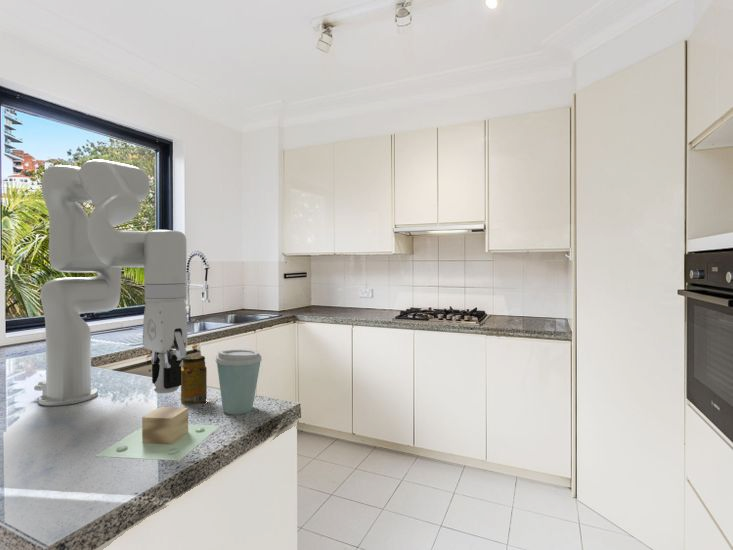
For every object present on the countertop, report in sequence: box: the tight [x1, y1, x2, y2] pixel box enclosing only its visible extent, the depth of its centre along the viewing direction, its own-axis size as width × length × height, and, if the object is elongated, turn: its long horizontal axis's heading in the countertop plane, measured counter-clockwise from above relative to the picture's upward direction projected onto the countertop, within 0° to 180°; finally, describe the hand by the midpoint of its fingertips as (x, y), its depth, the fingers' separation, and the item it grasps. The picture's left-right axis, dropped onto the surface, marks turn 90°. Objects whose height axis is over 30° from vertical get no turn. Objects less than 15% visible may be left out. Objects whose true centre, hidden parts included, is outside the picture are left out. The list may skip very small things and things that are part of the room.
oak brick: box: [141, 406, 189, 444], centre depth 82 cm, size 6×6×5 cm
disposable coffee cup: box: [215, 349, 263, 415], centre depth 98 cm, size 11×11×15 cm
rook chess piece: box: [153, 348, 180, 394], centre depth 81 cm, size 4×4×8 cm
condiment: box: [180, 354, 219, 406], centre depth 104 cm, size 7×8×12 cm
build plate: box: [94, 423, 221, 462], centre depth 81 cm, size 16×16×1 cm
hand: (166, 383), depth 81 cm, fingers closed on rook chess piece, 4 cm apart
